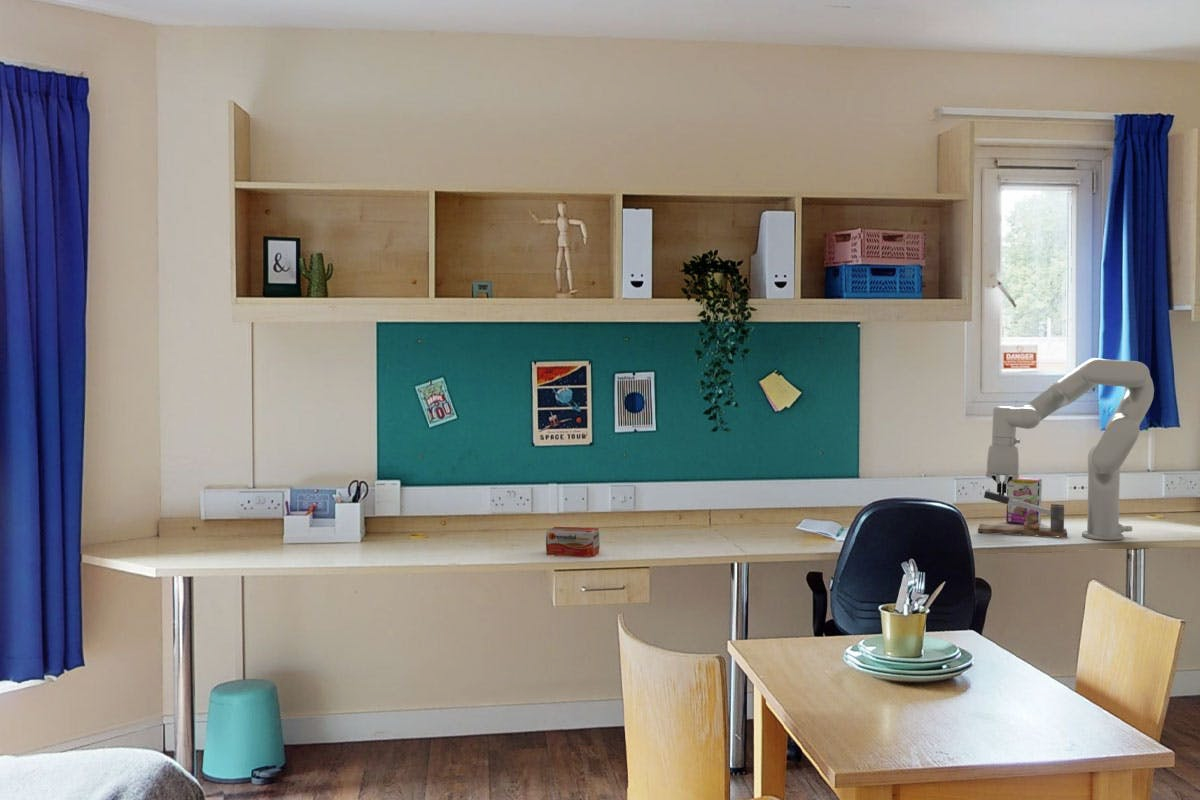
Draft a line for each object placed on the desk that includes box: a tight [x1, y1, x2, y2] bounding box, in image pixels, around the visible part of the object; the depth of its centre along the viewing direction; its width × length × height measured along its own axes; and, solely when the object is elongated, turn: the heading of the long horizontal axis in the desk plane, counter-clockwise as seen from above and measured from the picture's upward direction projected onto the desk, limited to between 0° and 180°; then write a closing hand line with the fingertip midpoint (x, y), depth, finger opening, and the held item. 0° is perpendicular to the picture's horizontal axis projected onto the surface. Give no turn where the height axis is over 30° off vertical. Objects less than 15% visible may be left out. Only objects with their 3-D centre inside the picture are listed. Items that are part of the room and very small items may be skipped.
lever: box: [983, 490, 1051, 516], centre depth 369 cm, size 25×4×2 cm, turn 69°
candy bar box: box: [1005, 477, 1043, 525], centre depth 390 cm, size 11×5×16 cm, turn 58°
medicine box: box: [545, 526, 601, 559], centre depth 334 cm, size 15×8×8 cm, turn 76°
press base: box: [977, 503, 1068, 538], centre depth 370 cm, size 28×10×10 cm, turn 68°
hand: (1001, 494), depth 372 cm, fingers closed
